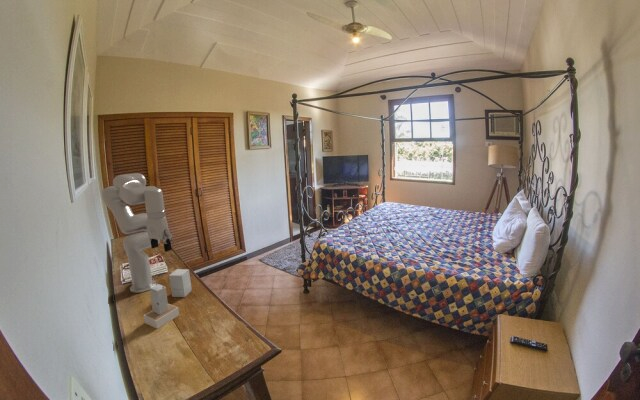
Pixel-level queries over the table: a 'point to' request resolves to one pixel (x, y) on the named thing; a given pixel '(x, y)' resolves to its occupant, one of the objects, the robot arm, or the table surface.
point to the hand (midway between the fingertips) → (161, 249)
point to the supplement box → (180, 282)
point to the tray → (161, 317)
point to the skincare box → (159, 299)
